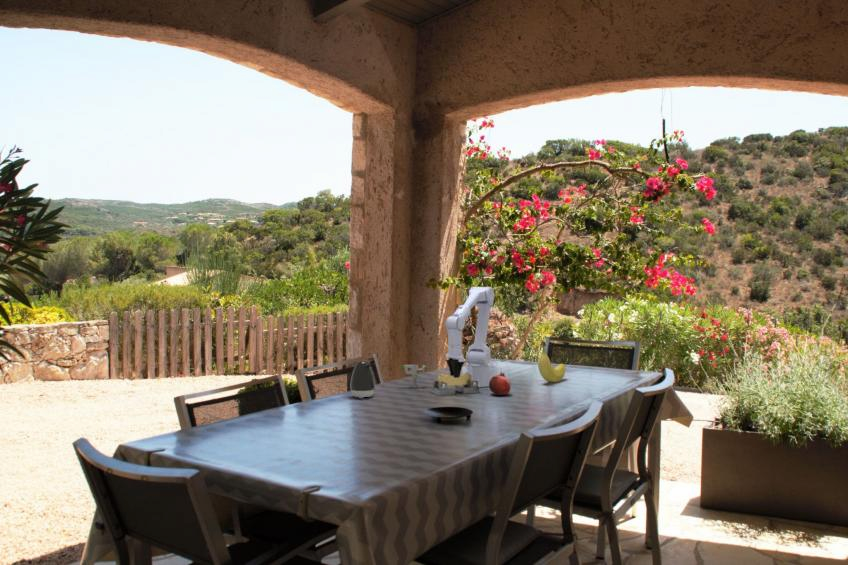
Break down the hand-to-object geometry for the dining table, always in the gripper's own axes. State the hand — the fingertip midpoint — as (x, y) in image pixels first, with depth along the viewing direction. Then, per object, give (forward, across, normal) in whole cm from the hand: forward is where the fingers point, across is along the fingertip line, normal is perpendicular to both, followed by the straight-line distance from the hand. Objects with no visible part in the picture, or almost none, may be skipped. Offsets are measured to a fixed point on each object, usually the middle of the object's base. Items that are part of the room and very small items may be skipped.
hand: (455, 376), depth 301 cm
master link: (+3, 0, 0) cm, 3 cm away
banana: (+7, -6, +51) cm, 52 cm away
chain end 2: (+7, 0, +6) cm, 9 cm away
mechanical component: (+7, -17, -12) cm, 22 cm away
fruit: (+7, +12, +15) cm, 20 cm away
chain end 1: (+7, 0, -6) cm, 9 cm away
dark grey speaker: (+7, -5, -39) cm, 40 cm away
